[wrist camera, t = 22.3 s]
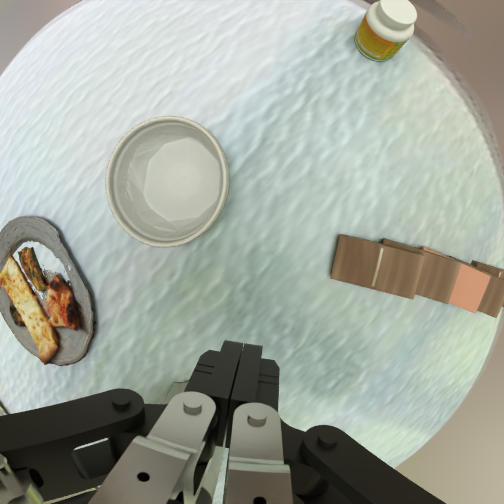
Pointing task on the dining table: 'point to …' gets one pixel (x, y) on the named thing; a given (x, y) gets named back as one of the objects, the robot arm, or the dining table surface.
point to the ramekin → (167, 181)
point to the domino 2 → (433, 273)
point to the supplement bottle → (385, 29)
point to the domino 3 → (467, 286)
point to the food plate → (54, 287)
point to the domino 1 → (377, 266)
